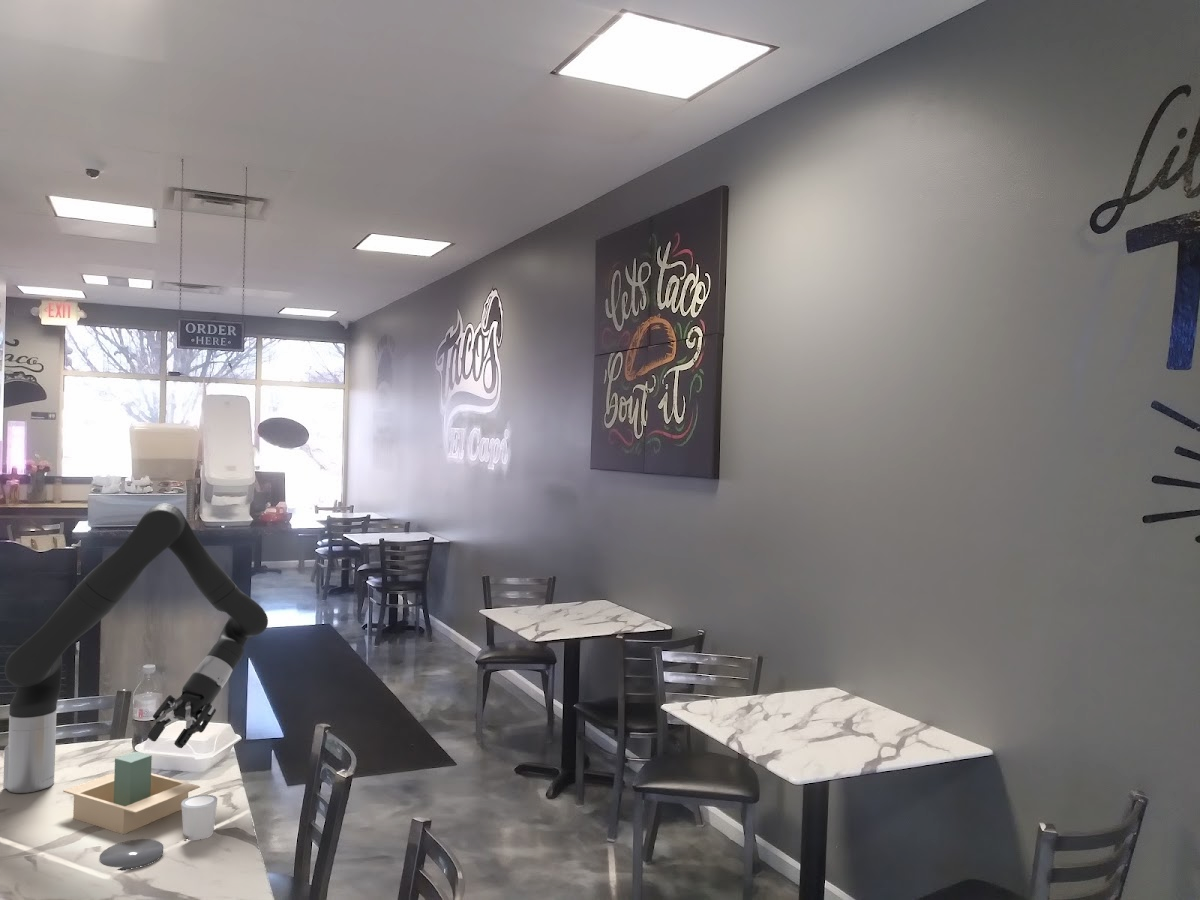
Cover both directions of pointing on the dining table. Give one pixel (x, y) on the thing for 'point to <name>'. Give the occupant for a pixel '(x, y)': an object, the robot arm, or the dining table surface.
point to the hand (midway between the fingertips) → (164, 743)
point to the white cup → (199, 816)
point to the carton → (101, 810)
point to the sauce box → (132, 778)
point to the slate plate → (132, 853)
